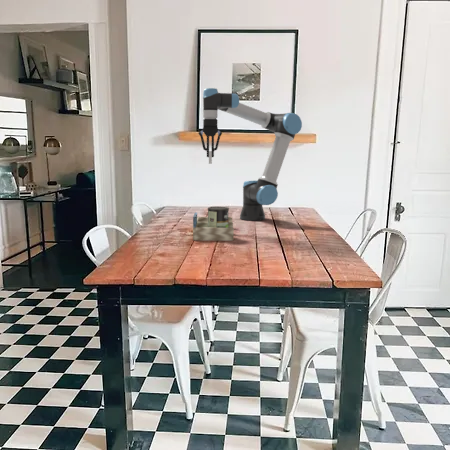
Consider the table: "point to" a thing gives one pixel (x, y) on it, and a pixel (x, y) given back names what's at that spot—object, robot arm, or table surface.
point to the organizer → (211, 230)
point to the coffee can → (218, 217)
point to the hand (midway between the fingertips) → (210, 163)
